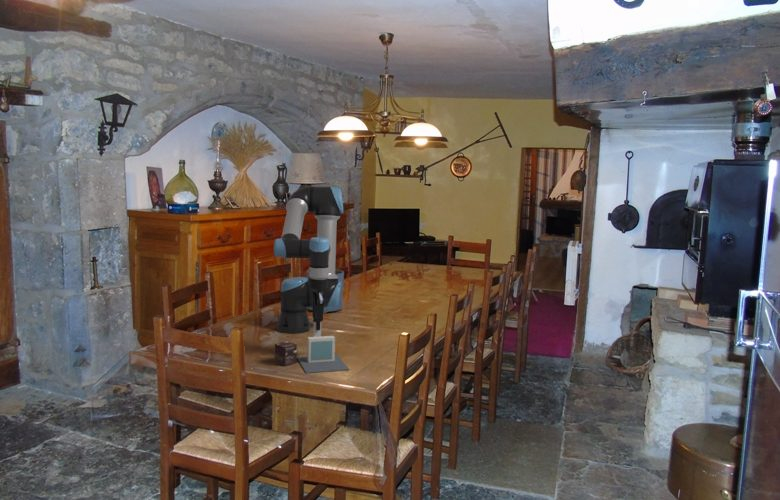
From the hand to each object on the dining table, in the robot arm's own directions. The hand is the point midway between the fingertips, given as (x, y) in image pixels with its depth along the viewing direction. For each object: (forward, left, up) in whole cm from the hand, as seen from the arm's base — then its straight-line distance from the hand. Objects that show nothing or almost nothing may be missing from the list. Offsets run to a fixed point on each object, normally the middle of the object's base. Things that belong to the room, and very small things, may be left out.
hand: (317, 337), depth 241 cm
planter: (-75, +20, -8) cm, 78 cm away
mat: (+10, 0, -8) cm, 13 cm away
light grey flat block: (+7, 0, -7) cm, 10 cm away
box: (+6, -13, -8) cm, 16 cm away
